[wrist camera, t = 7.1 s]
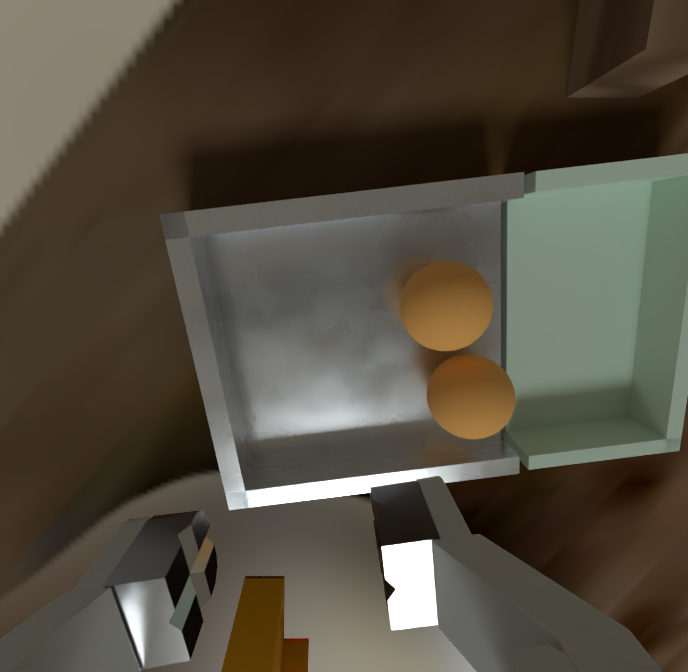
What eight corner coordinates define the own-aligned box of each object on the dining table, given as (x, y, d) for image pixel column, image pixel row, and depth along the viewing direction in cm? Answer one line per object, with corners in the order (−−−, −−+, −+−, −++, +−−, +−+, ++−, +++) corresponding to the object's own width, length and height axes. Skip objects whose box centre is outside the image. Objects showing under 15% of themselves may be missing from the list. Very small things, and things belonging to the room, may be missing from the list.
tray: (659, 164, 18) (724, 149, 15) (631, 422, 21) (679, 450, 18) (501, 183, 18) (535, 171, 15) (501, 438, 21) (528, 469, 18)
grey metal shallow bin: (489, 184, 18) (524, 171, 14) (491, 439, 21) (519, 473, 18) (189, 219, 17) (159, 214, 14) (243, 471, 21) (229, 510, 18)
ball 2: (491, 340, 18) (534, 365, 14) (491, 409, 19) (532, 451, 16) (415, 349, 18) (438, 377, 14) (419, 418, 19) (442, 462, 15)
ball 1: (470, 254, 17) (511, 257, 13) (472, 333, 18) (511, 357, 14) (389, 263, 17) (407, 269, 13) (395, 342, 18) (413, 369, 14)
